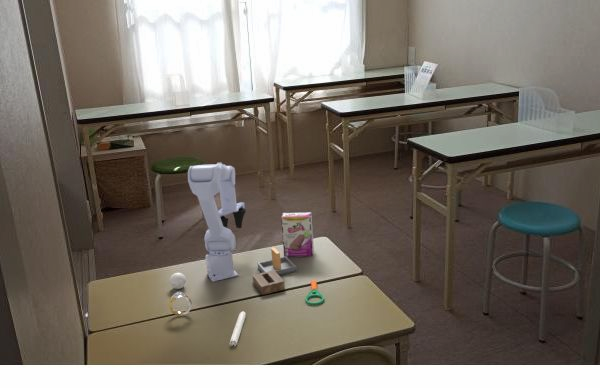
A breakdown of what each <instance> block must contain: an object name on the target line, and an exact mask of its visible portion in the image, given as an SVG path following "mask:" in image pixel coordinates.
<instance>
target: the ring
mask: <svg viewBox="0 0 600 388" xmlns="http://www.w3.org/2000/svg"><path fill="white" fill-rule="evenodd" d="M177 299H184V300H185V301H187V303H188V309H187V310H186V311H184V312H183V311H176V310H175V309H174V308H173V307H172V303H173V302H174V301H176V300H177ZM167 305H168V309H169V310H170V312H171V313H173V314H174V315H177V316H180V317H183V316H185V315H188V314H189V312H190V311H191V308H192V300H191V297H189V296H188V295H186V294H185V293H184V292H183V291H177V292H175V293H173V295H172V296H170V298H169V301H168V303H167Z"/></svg>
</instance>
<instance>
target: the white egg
mask: <svg viewBox="0 0 600 388" xmlns="http://www.w3.org/2000/svg"><path fill="white" fill-rule="evenodd" d="M168 283H169V284H170V287H172V288H173V289H176V290H178V289H179V290H180V289H182V288H183V287H185V285H186V283H187V278H186V275H184V273H181V272H174V273H173V274H172V275H171V276H170V277H169V282H167V284H168Z"/></svg>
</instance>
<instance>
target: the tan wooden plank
mask: <svg viewBox="0 0 600 388" xmlns="http://www.w3.org/2000/svg"><path fill="white" fill-rule="evenodd" d="M270 251H271V253H270V254H271V259H272V263H273V267H274V268H275V269H276V270H279V269H281V261H280V257H281V253H280V252H279V251H278V250H277V249H276V247H271V248H270Z"/></svg>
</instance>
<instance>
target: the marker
mask: <svg viewBox="0 0 600 388" xmlns="http://www.w3.org/2000/svg"><path fill="white" fill-rule="evenodd" d="M246 316H247V313H246V312H245V311H244V310H243V311H241V312H239V314H238V317H237V320H236V322H235V326H234V328H233V331H232V335H231V336H230V337H231V338H230V341H229V345H230V347H233V346H234V347H236V346H237V344H238V341H239V338H240V335H241V332H242V329H243V325H244V323H245V320H246Z"/></svg>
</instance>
